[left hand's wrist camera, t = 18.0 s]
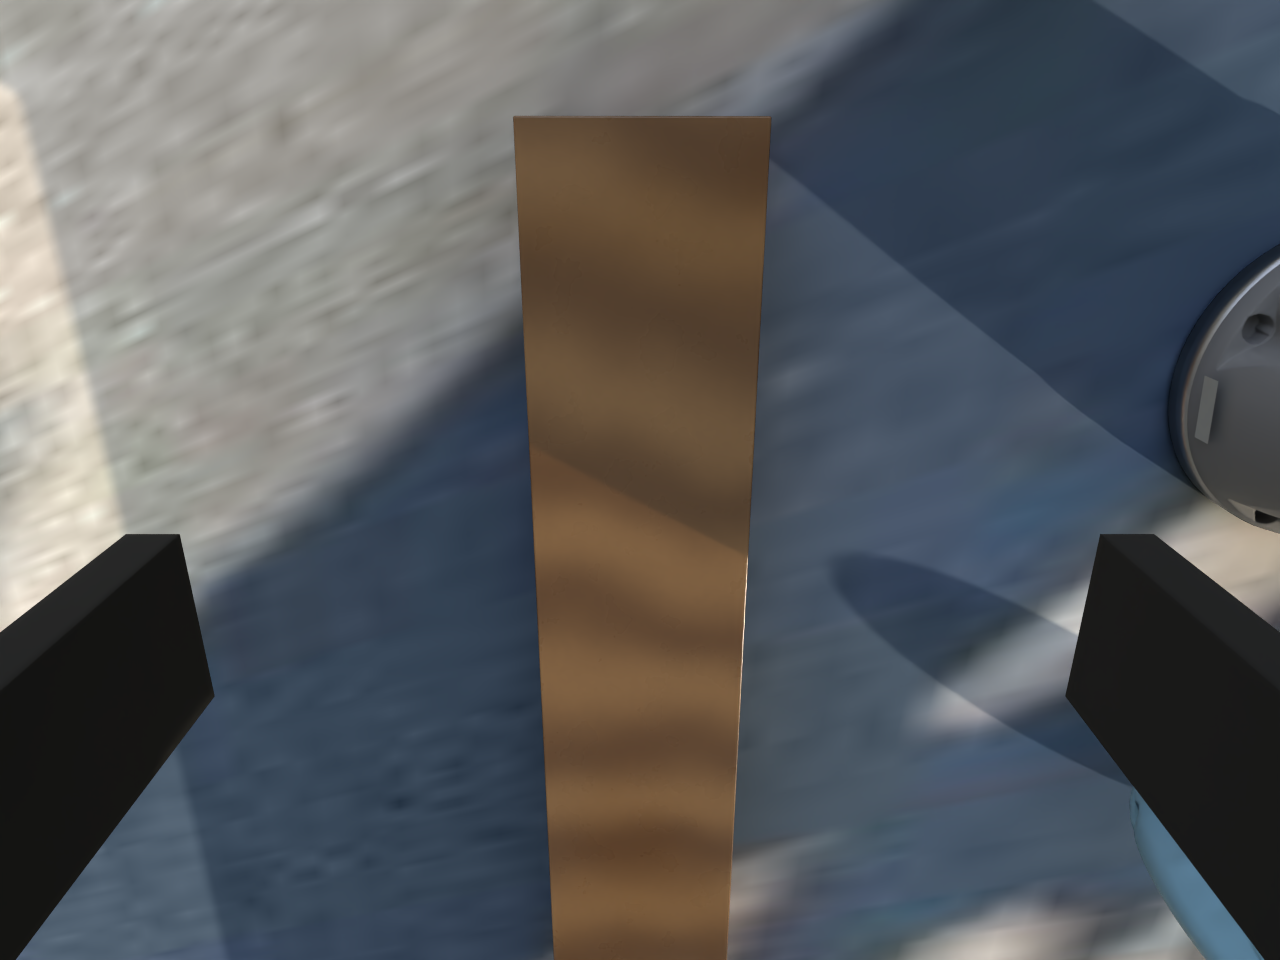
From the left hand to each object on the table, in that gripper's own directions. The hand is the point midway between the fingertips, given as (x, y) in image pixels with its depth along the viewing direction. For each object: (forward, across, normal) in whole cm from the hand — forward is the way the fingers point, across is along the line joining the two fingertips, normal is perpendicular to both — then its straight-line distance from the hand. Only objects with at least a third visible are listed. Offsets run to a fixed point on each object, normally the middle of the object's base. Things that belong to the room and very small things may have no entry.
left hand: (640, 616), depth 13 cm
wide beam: (+30, 0, -35) cm, 46 cm away
